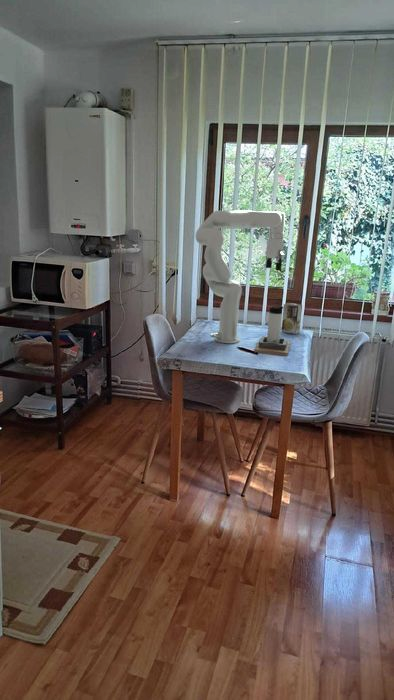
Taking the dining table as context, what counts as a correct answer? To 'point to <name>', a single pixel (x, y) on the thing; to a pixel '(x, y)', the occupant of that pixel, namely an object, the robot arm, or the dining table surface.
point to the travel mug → (274, 324)
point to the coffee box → (291, 318)
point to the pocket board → (272, 347)
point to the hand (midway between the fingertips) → (273, 269)
